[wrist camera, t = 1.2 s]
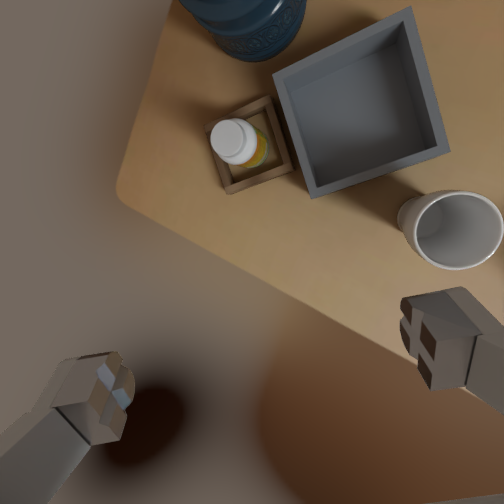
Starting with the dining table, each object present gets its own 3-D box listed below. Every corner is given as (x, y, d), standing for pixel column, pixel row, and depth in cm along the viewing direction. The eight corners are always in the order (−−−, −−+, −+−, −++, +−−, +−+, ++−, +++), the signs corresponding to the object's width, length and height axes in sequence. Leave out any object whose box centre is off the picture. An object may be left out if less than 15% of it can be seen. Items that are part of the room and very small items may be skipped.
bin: (401, 33, 37) (411, 5, 32) (435, 157, 38) (450, 151, 33) (282, 89, 42) (271, 74, 37) (315, 197, 43) (311, 199, 38)
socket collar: (272, 98, 43) (269, 94, 41) (295, 170, 44) (293, 169, 42) (209, 128, 46) (203, 125, 44) (231, 194, 47) (226, 194, 45)
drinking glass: (378, 221, 42) (393, 236, 28) (417, 178, 39) (455, 172, 25) (420, 254, 41) (458, 287, 27) (462, 213, 39) (527, 226, 25)
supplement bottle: (275, 136, 44) (256, 121, 34) (261, 173, 45) (239, 169, 36) (240, 123, 45) (213, 105, 35) (228, 160, 46) (198, 153, 37)
